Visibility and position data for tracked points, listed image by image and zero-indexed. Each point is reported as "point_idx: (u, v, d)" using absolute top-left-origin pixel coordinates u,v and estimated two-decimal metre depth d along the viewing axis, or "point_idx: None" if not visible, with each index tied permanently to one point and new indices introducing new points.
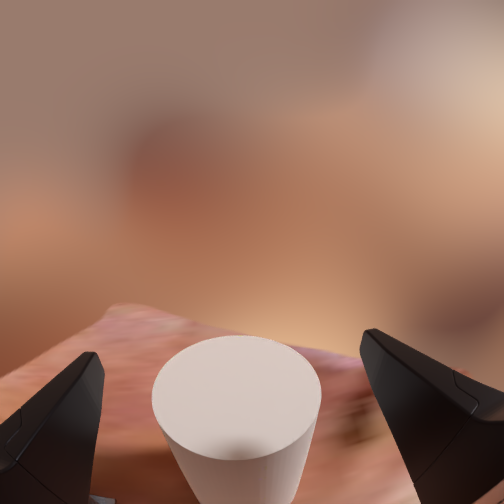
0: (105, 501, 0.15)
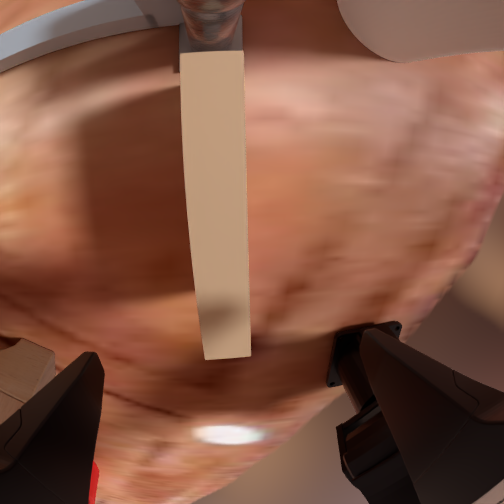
0: None
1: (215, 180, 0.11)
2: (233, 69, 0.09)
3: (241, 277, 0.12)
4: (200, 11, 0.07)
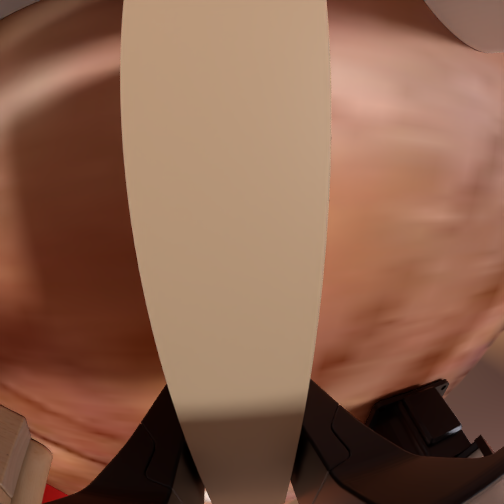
0: None
1: (233, 294, 0.04)
2: None
3: (283, 448, 0.05)
4: None
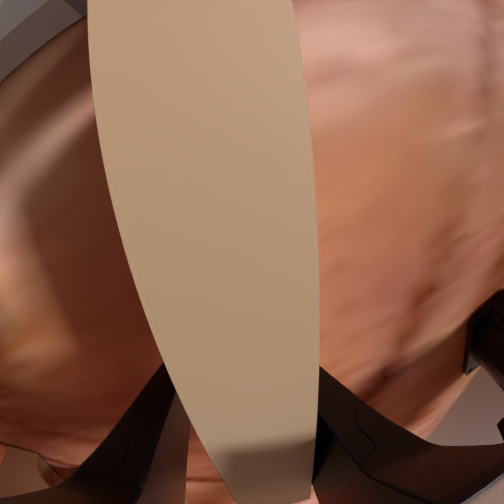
0: None
1: (232, 303, 0.04)
2: None
3: (301, 445, 0.05)
4: None
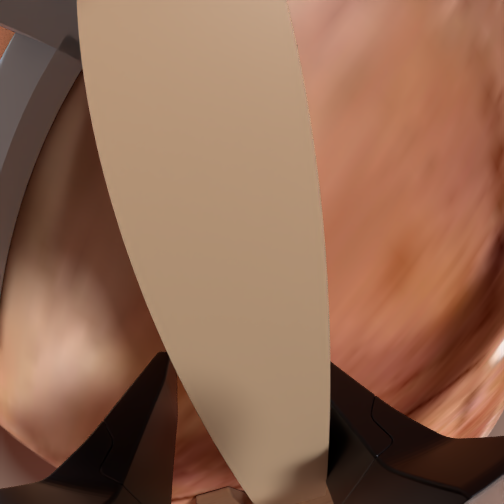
0: None
1: (242, 310, 0.04)
2: None
3: (315, 444, 0.05)
4: None
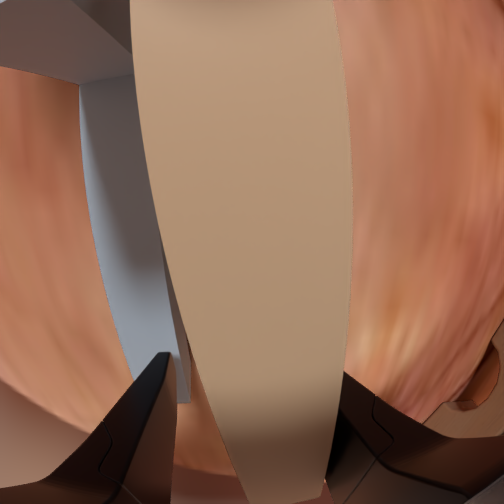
0: None
1: (268, 297, 0.04)
2: None
3: (319, 442, 0.05)
4: None
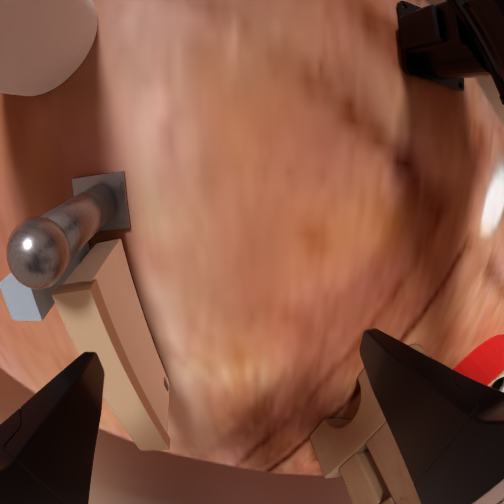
0: (78, 190, 0.17)
1: (105, 369, 0.14)
2: (88, 304, 0.12)
3: (143, 414, 0.15)
4: (68, 258, 0.10)
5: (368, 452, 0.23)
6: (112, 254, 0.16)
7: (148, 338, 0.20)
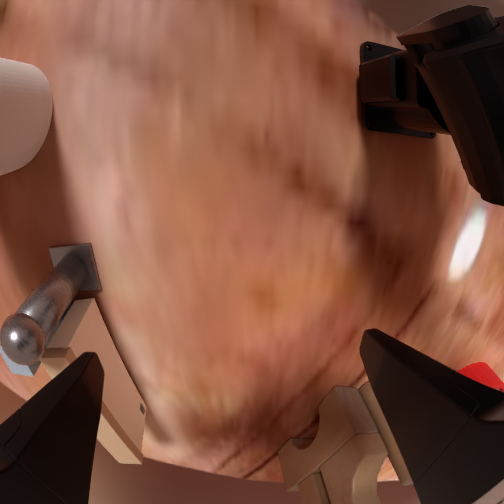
0: (55, 257, 0.19)
1: None
2: (65, 366, 0.14)
3: (117, 439, 0.18)
4: (44, 344, 0.12)
5: None
6: (85, 316, 0.18)
7: (124, 374, 0.23)
